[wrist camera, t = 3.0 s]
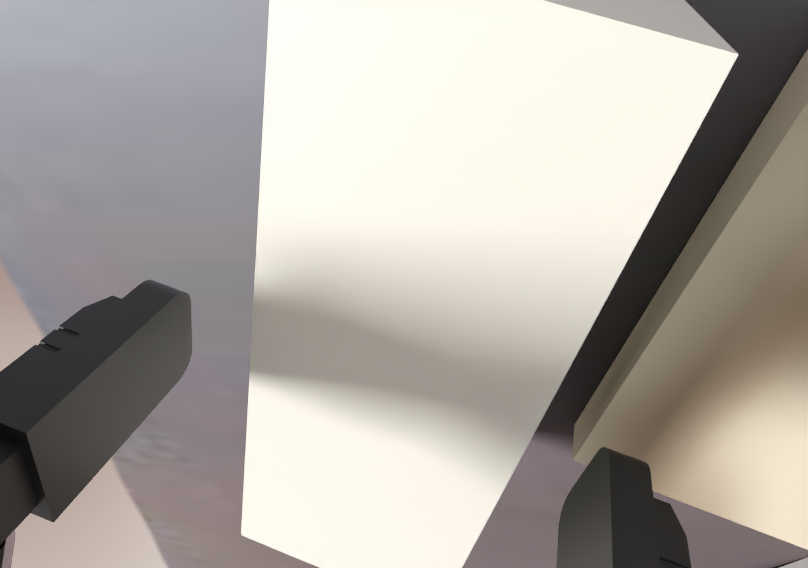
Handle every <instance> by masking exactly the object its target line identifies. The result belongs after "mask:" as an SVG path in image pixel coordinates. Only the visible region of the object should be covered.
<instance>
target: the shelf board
mask: <svg viewBox="0 0 808 568" xmlns="http://www.w3.org/2000/svg"><path fill="white" fill-rule="evenodd" d="M602 447H606V448H609V449H611V450H614V451H617V452H620V453H622V454H625V455H628V456H631V457H633V458H636V459H639V460H641V461H644V462H646V463H647V464H648V465H649V468H650V472H651V480H652V490H653V491H655V492H657V493H660V494H662V495H665V496H668V497H670V498H673V499H676V500H678V501H681V502H684V503H686V504H689V505H691V506H694V507H697V508H699V509H702V510H705V511H707V512H710V513H713V514H715V515H718V516H720V517H723V518H726V519H728V520H731V521H734V522H736V523H739V524H741V525H744V526H747V527H749V528H752V529H755V530H757V531H760V532H763V533H765V534H768V535H770V536H773V537H776V538H778V539H781V540H784V541H786V542H789V543H791V544H794V545H797V546H799V547H802V548H805V549H807V550H808V49H807V50H806V52H805V53H804V55H803V57H802V58H801V60H800V61H799V63H798V65H797V66H796V68H795V70H794V71H793V73H792V74H791V76H790V78H789V79H788V81H787V82H786V84H785V86H784V87H783V89H782V91H781V92H780V94H779V95H778V97H777V99H776V100H775V102H774V103H773V105H772V107H771V108H770V110H769V112H768V113H767V115H766V116H765V118H764V120H763V121H762V123H761V124H760V126H759V128H758V129H757V131H756V133H755V134H754V136H753V137H752V139H751V141H750V142H749V144H748V145H747V147H746V149H745V150H744V152H743V154H742V155H741V157H740V158H739V160H738V162H737V163H736V165H735V166H734V168H733V170H732V171H731V173H730V174H729V176H728V178H727V179H726V181H725V183H724V184H723V186H722V187H721V189H720V191H719V192H718V194H717V195H716V197H715V199H714V200H713V202H712V204H711V205H710V207H709V208H708V210H707V212H706V213H705V215H704V216H703V218H702V220H701V221H700V223H699V225H698V226H697V228H696V229H695V231H694V233H693V234H692V236H691V237H690V239H689V241H688V242H687V244H686V246H685V247H684V249H683V250H682V252H681V254H680V255H679V257H678V258H677V260H676V262H675V263H674V265H673V267H672V268H671V270H670V271H669V273H668V275H667V276H666V278H665V279H664V281H663V283H662V284H661V286H660V287H659V289H658V291H657V292H656V294H655V296H654V297H653V299H652V300H651V302H650V304H649V305H648V307H647V308H646V310H645V312H644V313H643V315H642V317H641V318H640V320H639V321H638V323H637V325H636V326H635V328H634V329H633V331H632V333H631V334H630V336H629V338H628V339H627V341H626V342H625V344H624V346H623V347H622V349H621V350H620V352H619V354H618V355H617V357H616V359H615V360H614V362H613V363H612V365H611V367H610V368H609V370H608V371H607V373H606V375H605V376H604V378H603V379H602V381H601V383H600V384H599V386H598V388H597V389H596V391H595V392H594V394H593V396H592V397H591V399H590V400H589V402H588V404H587V405H586V407H585V409H584V410H583V412H582V413H581V415H580V417H579V418H578V420H577V421H576V423H575V425H574V441H573V461H576V462H578V463H581V464H584V465H586V466H588V465H589V463H590V462H591V460H592V459H593V457H594V456H595V454H596V453H597V452H598V450H599V449H600V448H602Z"/></svg>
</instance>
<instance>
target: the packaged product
mask: <svg viewBox="0 0 808 568" xmlns="http://www.w3.org/2000/svg"><path fill="white" fill-rule="evenodd" d="M779 568H808V557H807V558H804V559H802V560H799V561H796V562H793V563H790V564H788V565H785V566H782V567H779Z"/></svg>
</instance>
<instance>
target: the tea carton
mask: <svg viewBox="0 0 808 568" xmlns="http://www.w3.org/2000/svg"><path fill="white" fill-rule="evenodd" d="M738 55H739V54H738V53H737V52H736V51H735V50H734V49H733V48H732V47H731V46H730V45H729V44H728V43H727V42H726V41H725V40H724V39H723V38H722V37H721V36H720V35H719V34H718V33H717V32H716V31H715V30H714V29H713V28H712V27H711V26H710V25H709V24H708V23H707V22H706V21H705V20H704V19H703V18H702V17H701V16H700V15H699V14H698V13H697V12H696V11H695V10H694V9H693V8H692V7H691V6H690V5H689V4H688V3H687V2H686V1H685V0H270V3H269V22H268V41H267V59H266V78H265V97H264V116H263V134H262V153H261V172H260V191H259V209H258V228H257V247H256V265H255V284H254V303H253V322H252V340H251V359H250V378H249V396H248V415H247V434H246V453H245V471H244V490H243V509H242V527H241V535H242V536H245V537H247V538H250V539H252V540H254V541H257V542H259V543H262V544H264V545H266V546H269V547H271V548H274V549H276V550H279V551H281V552H283V553H286V554H288V555H291V556H293V557H295V558H298V559H300V560H303V561H305V562H307V563H310V564H312V565H315V566H317V567H319V568H462V566H463V565H464V563H465V561H466V559H467V557H468V555H469V553H470V552H471V550H472V548H473V546H474V544H475V542H476V540H477V539H478V537H479V535H480V533H481V531H482V529H483V528H484V526H485V524H486V522H487V520H488V518H489V516H490V515H491V513H492V511H493V509H494V507H495V505H496V503H497V502H498V500H499V498H500V496H501V494H502V492H503V490H504V489H505V487H506V485H507V483H508V481H509V479H510V477H511V476H512V474H513V472H514V470H515V468H516V466H517V464H518V463H519V461H520V459H521V457H522V455H523V453H524V452H525V450H526V448H527V446H528V444H529V442H530V440H531V439H532V437H533V435H534V433H535V431H536V429H537V427H538V426H539V424H540V422H541V420H542V418H543V416H544V414H545V413H546V411H547V409H548V407H549V405H550V403H551V401H552V400H553V398H554V396H555V394H556V392H557V390H558V388H559V387H560V385H561V383H562V381H563V379H564V377H565V376H566V374H567V372H568V370H569V368H570V366H571V364H572V363H573V361H574V359H575V357H576V355H577V353H578V351H579V350H580V348H581V346H582V344H583V342H584V340H585V338H586V337H587V335H588V333H589V331H590V329H591V327H592V325H593V324H594V322H595V320H596V318H597V316H598V314H599V312H600V311H601V309H602V307H603V305H604V303H605V301H606V300H607V298H608V296H609V294H610V292H611V290H612V288H613V287H614V285H615V283H616V281H617V279H618V277H619V275H620V274H621V272H622V270H623V268H624V266H625V264H626V262H627V261H628V259H629V257H630V255H631V253H632V251H633V249H634V248H635V246H636V244H637V242H638V240H639V238H640V236H641V235H642V233H643V231H644V229H645V227H646V225H647V224H648V222H649V220H650V218H651V216H652V214H653V212H654V211H655V209H656V207H657V205H658V203H659V201H660V199H661V198H662V196H663V194H664V192H665V190H666V188H667V186H668V185H669V183H670V181H671V179H672V177H673V175H674V173H675V172H676V170H677V168H678V166H679V164H680V162H681V160H682V159H683V157H684V155H685V153H686V151H687V149H688V148H689V146H690V144H691V142H692V140H693V138H694V136H695V135H696V133H697V131H698V129H699V127H700V125H701V123H702V122H703V120H704V118H705V116H706V114H707V112H708V110H709V109H710V107H711V105H712V103H713V101H714V99H715V97H716V96H717V94H718V92H719V90H720V88H721V86H722V84H723V83H724V81H725V79H726V77H727V75H728V73H729V72H730V70H731V68H732V66H733V64H734V62H735V60H736V59H737V57H738Z"/></svg>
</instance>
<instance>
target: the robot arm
mask: <svg viewBox="0 0 808 568" xmlns="http://www.w3.org/2000/svg"><path fill="white" fill-rule="evenodd" d="M191 353H192V330H191V299H190V296H189V295H188V294H187V293H185V292H182V291H180V290H177V289H174V288H171V287H169V286H166V285H163V284H160V283H158V282H155V281H152V280H147V281H144V282H142V283H141V284H140V285H138V286H137V287H136V288H135V289H134V290H132V291H131V292H130V293H129V294H127V295H126V296H125V297H124V298H123V299H120V298H118V297H115V296H111V297H109V298H106V299H104V300H101V301H99V302H96V303H94V304H91V305H89V306H86V307H84V308H82V309H81V310H79V311H78V312H77V313H76V314H74V315H73V316H72V317H70V318H69V319H68V320H67V321H65V322H64V323H63V324H61V325H60V327H59V329H58V330H54V331H52V332H51V333H50V334H48V335H47V336H46V337H45V338H43V339H42V340H41V341H40V344H39V345H38V346H37V345H34V346H33V347H32V348H30V349H29V350H28V351H27V352H25V353H24V354H23V355H22V356H20V357H19V358H18V359H16V360H15V361H14V362H12V363H11V364H10V365H9V366H7V367H6V368H5V369H3V370H2V371H1V372H0V568H11V563H12V556H13V549H14V541H15V529H16V527H18V525H19V524H20V523H21V522H22V521H23V520H24V519H25V518H26V517H27V516H28V515H29V514H30V513H32V514H35V515H37V516H40V517H42V518H44V519H47V520H49V521H51V522H54V521H55V520H56V519H57V518H58V517H59V516H60V514H61V513H62V512H63V511H64V510H65V509H66V508H67V507H68V505H69V504H70V503H71V502H72V501H73V500H74V499H75V497H77V495H78V494H79V493H80V492H81V491H82V490H83V488H84V487H85V486H86V485H87V484H88V483H89V482H90V481H91V480H92V478H93V477H94V476H95V475H96V474H97V473H98V472H99V470H100V469H101V468H102V467H103V466H104V465H105V464H106V463H107V461H108V460H109V459H110V458H111V457H112V456H113V455H114V453H115V452H116V451H117V450H118V449H119V448H120V447H121V446H122V444H123V443H124V442H125V441H126V440H127V439H128V438H129V437H130V435H131V434H132V433H133V432H134V431H135V430H136V429H137V427H138V426H139V425H140V424H141V423H142V422H143V421H144V420H145V418H146V417H147V416H148V415H149V414H150V413H151V412H152V410H153V409H154V408H155V407H156V406H157V405H158V404H159V403H160V401H161V400H162V399H163V398H164V397H165V396H166V395H167V393H168V392H169V391H170V390H171V389H172V388H173V387H174V386H175V384H176V383H177V382H178V381H179V380H180V378H181V377H182V376H183V374H184V372H185V370H186V368H187V366H188V364H189V361H190V358H191ZM557 568H691V563H690V556H689V550H688V543H687V537H686V534H685V532H684V530H683V528H682V526H681V525H680V523H679V521H678V519H677V517H676V515H675V513H674V511H673V509H672V507H671V505H670V504H669V503H666V502H663V501H661V500H658V499H655V498H653V490H652V480H651V472H650V468H649V465H648V464H647V463H646V462H644V461H641V460H639V459H636V458H633V457H631V456H628V455H625V454H622V453H620V452H617V451H614V450H611V449H609V448H606V447H602V448H600V449H599V450H598V452H597V453H596V454H595V456H594V457H593V459H592V460H591V462H590V463H589V465H588V466H587V467H586V469H585V470H584V472H583V473H582V475H581V476H580V478H579V479H578V481H577V482H576V483H575V485H574V486H573V488H572V489H571V491H570V492H569V494H568V496H567V498H566V500H565V503H564V505H563V509H562V512H561V516H560V522H559V532H558V551H557Z"/></svg>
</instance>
